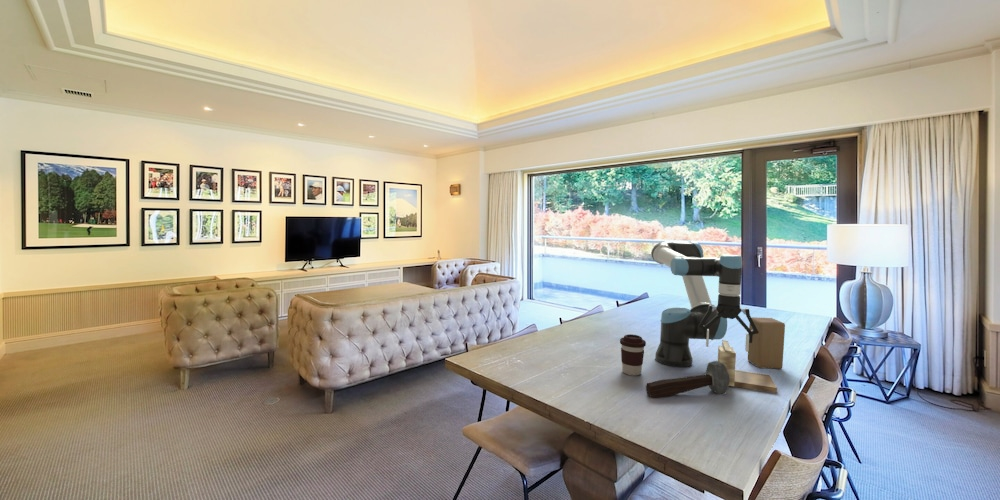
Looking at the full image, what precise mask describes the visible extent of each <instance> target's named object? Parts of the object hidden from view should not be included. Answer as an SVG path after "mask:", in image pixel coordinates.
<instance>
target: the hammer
mask: <svg viewBox="0 0 1000 500" xmlns="http://www.w3.org/2000/svg"><path fill="white" fill-rule="evenodd" d="M729 382H730V380H729V374H728V371H727V369H726V367H725V365H724V364H723V363H721V362H719V361H718V360H716V361H715V360H713V361H710V362H708V364H707V366H706V370H705V374H699V375H692V376H683V377H673V378H665V379H660V380H655V381H650V382H647V383H646V385H645V390H646V394H647V395H648V396H649V397H650V398H651V399H658V398H659V399H660V398H666V397H670V396H674V395H675V396H676V395H678V394H681V393H687V392H690V391H694V390H697V389H701V388H705V387H709V389H710V390H711V391H713V392H714V393H716V394H718V395H720V396H721V395H722V396H723V395H725V394H726V393H727V392H728V388H729V387H730V386H729Z"/></svg>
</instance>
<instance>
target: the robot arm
mask: <svg viewBox="0 0 1000 500" xmlns="http://www.w3.org/2000/svg"><path fill="white" fill-rule="evenodd" d="M702 247H703V246H702V245H701V244H700V243H698V242H697V241H692V240H691V241H688V240H687V241H678V240H677V241H675V240H674V241H671V240H666V241H665V240H664V241H661V242H658V243H657V244H655V245H654V246H653V248H652V249H651V254H650V255H651V258H652V260H653V261H654V262H656V263H657V264H659V265H665V266H667V267H668V268H670V271H671V274H673V275H674V276H680V277H682V280H683V283H684V286H685V290H686V294H687V298H688V301H689V304H690V308H686V307H670V308H665V309H663V311H662V312H661V317H660V318H661V319H660V334H659V335H660V337H659V344H658V346H657V349H656V351H655V361H657V362H658V363H660V364H662V365H666V366H670V367H680V368H684V367H685V368H686V367H690V366H692V365H693V356H692V352H691V348H690V345H689V344H690V339H691V340H706V341H705V347H707V348H709V341H710V340H711V341H713V340H721V339H722V340H723V339H724V337H725V336H726V334H727V330H728V319H730V320H733V319H736V320H737V322H739V324H740V325H741V326H742V327H743V328H744V329H745V331H746V333H745V345H744V346H745V347H744V348H745V349H744V350H745V352H747V353H748V351H749V343H752V337H753V334H758V333H759V332H758V330H757V328H756V326H755V324H754V322H753V320H752V317H751V314H750V308H749V307H745V308H741V296H740V295H741V291H742V288H741V287H742V274H743V271H742V270H743V257H742V256H741V255H739V254H738V255H737V254H722V255H721V256H719V257H717V256H716V257H714V256H713V257H704V250H703V248H702ZM704 277H718V295H717V296H718V297H717V305H714V304H712V301H711V299H710V295H709V292H708V289H707V286H706V284H705V280H704ZM741 312H742V314H743V315H745V317H746V318H747V321H748V322H749V325H750V324H751V326H752V328H753V330H750V329H749V326H748V325H747V324H746V323H745V321H744V320H743V319H742V318H741V317H740V314H741Z"/></svg>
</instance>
